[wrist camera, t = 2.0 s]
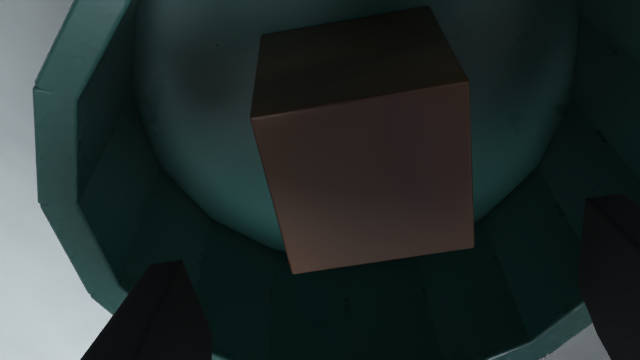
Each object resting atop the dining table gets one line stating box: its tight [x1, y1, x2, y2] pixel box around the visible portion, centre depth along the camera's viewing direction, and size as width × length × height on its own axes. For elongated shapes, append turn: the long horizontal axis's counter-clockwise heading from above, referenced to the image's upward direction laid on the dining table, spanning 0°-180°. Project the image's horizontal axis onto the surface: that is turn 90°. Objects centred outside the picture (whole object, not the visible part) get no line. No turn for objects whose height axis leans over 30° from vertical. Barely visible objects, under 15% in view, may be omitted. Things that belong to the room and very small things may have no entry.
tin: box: [33, 0, 640, 360], centre depth 15 cm, size 14×14×6 cm
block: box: [250, 6, 475, 274], centre depth 15 cm, size 4×4×4 cm
